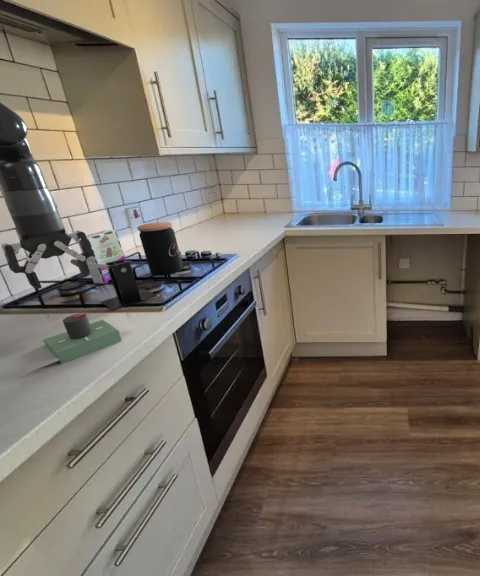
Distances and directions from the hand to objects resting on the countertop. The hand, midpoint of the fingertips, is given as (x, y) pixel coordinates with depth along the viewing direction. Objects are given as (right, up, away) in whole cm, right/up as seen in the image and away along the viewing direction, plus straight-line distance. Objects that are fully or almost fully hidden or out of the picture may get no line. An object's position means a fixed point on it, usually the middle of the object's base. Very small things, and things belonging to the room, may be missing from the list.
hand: (62, 281), depth 83 cm
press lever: (-7, +4, +19) cm, 21 cm away
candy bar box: (-24, +2, +47) cm, 53 cm away
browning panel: (+2, -15, +5) cm, 16 cm away
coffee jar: (-6, +4, +51) cm, 52 cm away
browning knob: (+1, -13, +3) cm, 13 cm away
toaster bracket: (-4, -6, +28) cm, 28 cm away
